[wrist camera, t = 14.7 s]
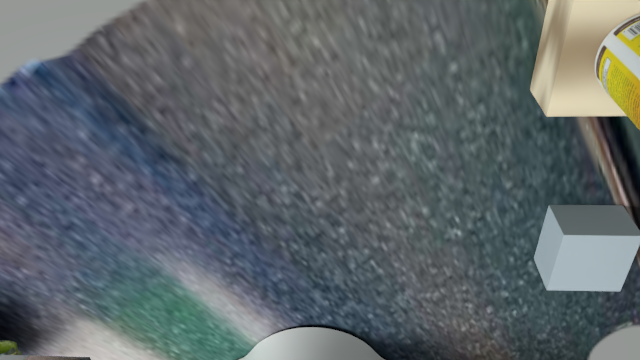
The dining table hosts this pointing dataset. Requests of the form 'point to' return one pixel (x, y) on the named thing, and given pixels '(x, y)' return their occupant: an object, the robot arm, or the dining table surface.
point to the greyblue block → (586, 247)
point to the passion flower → (9, 348)
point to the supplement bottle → (622, 67)
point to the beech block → (576, 56)
